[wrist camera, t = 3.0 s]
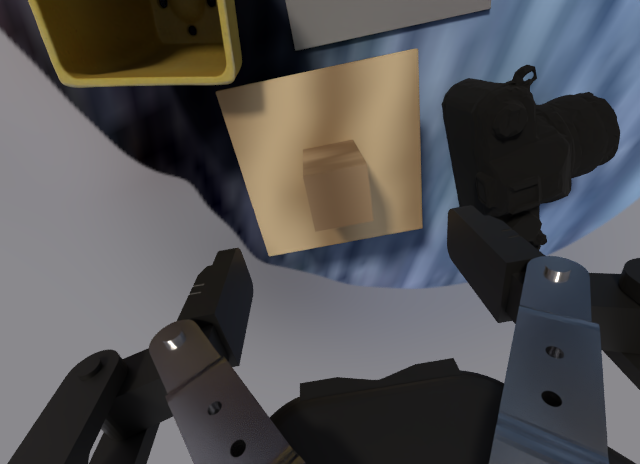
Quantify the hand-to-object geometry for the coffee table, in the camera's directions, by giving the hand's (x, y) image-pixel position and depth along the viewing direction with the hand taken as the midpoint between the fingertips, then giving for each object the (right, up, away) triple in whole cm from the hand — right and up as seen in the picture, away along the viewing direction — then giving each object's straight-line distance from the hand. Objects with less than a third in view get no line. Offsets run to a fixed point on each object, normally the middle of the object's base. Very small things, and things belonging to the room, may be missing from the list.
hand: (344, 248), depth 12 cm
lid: (0, +6, +10) cm, 12 cm away
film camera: (+15, +8, +16) cm, 23 cm away
